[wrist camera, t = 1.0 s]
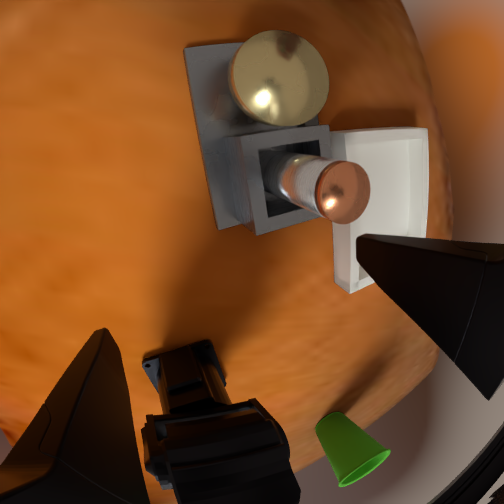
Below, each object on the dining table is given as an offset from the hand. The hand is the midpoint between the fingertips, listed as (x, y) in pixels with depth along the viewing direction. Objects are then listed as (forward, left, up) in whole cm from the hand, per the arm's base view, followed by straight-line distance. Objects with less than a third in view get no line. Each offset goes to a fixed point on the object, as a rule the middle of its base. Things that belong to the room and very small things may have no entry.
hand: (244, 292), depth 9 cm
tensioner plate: (+4, -6, -12) cm, 14 cm away
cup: (-38, -12, -12) cm, 41 cm away
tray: (-4, -17, -12) cm, 22 cm away
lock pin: (+1, -6, -12) cm, 13 cm away
